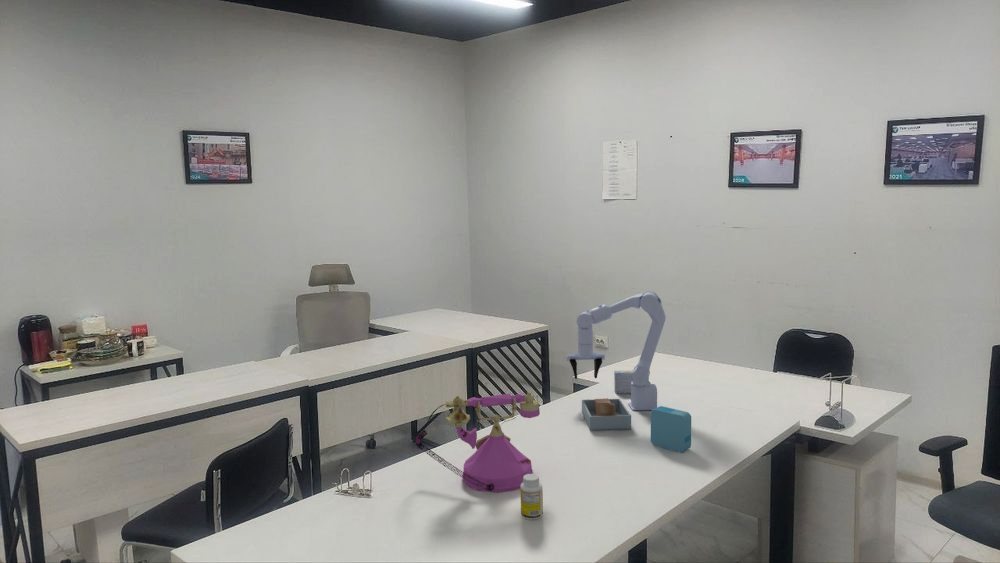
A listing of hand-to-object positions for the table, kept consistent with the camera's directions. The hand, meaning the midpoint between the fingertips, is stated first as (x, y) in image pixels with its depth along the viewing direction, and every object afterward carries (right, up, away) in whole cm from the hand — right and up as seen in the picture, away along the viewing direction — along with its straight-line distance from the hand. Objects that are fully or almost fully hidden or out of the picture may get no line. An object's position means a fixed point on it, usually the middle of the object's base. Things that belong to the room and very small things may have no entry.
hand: (585, 377), depth 248 cm
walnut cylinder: (+5, -13, -24) cm, 27 cm away
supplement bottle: (-25, -22, -86) cm, 93 cm away
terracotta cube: (+5, -11, -13) cm, 18 cm away
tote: (+5, -13, -18) cm, 23 cm away
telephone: (-39, -20, -65) cm, 78 cm away
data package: (+21, -16, -44) cm, 51 cm away
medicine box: (+18, -8, +16) cm, 25 cm away
